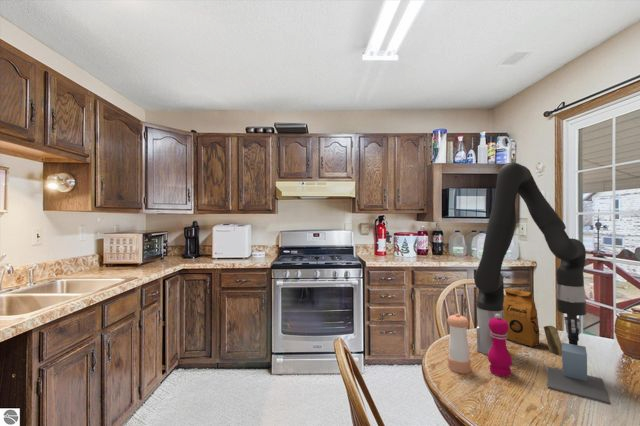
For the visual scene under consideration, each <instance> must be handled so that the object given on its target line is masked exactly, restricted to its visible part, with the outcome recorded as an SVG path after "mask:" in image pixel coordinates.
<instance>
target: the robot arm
mask: <svg viewBox="0 0 640 426" xmlns="http://www.w3.org/2000/svg"><path fill="white" fill-rule="evenodd" d="M518 195H519V196H520V198H521V199H522V200H523V202H524V203H525V205H526V207H527V209H528V212H529V215H530V217H531V219H532V221H533V222H534V223H535V225H536V226H537V227H538V229H539V230H540V232H541V233H542V234H543V236H544V237H543V238H544V240H545V242H546V244H547V247H548V249H549V250H550V252H551V253H552V255H554V256H555V257H556V258H557V259H559V260H560V265H559V266H558V268H557V269H556V291H555V292H556V309H557V312H559V313H561V314H566V316H564V317H563V318H564V319H563V320H564V325H565V333H567V339H568V344H573V345H579V343H578V342H579V340H580V338H579V335H581V333H580V328H581V320H580V317H581V316H582V317H583V316H586V315H587V299H586V298H587V294H586V290H585V282H584V281H585V280H584V271H585V269H584V268H585V266H586V265H585V264H586V258H587V257H586V256H587V253H586V247H585V244H584V243H583V242H582V241H580V240H579V239H576V238H571V237H569V235H568V234H567V232H566V228H567V227H566V224H565V222H564V221H563V220H562V219H561V217H560V216H559V214H558V213H557V212H556V211H555V209H554V208H553V207H552V206H551V204H550V203H549V202H548V200H547V199H546V198H545V196H544V194H543V193H542V192H541V190H540V189H539V186H538V184H537V183H536V181H535V179H534V177H533V174H532V172H531V170H530V169H529V168H528V167H526V166H524V165H522V164H519V163H517V162H506V164H504V165H502V167H501V168H500V169H499V171H498V173H497V178H496V186H495V195H494V200H493V203H492V207H491V212H490V216H489V219H488V222H487V223H488V224H487V227H486V231H485V237H484V242H483V247H482V255H481V258H480V261H479V264H478V266H477V269H476V272H475V274H474V278H473V279H474V280H473V281H474V284H475V287H476V288H477V290H478V292H477V293H478V294H477V299H476V315H477V316H476V317H477V326H476V348H477V349H476V350H477V352H480V353H482V354H484V355H487V356H488V353H489V351H490V349H491V346H492V342H493V339H492V336H491V333H490V332H491V329H490V328H489V321H490V320H491V319H492V318H496V317H495V315H496V314H500V315H501V319H504V312H503V306H504V299H505V294H504V293H505V289H504V288H505V287H504V285H505V284H504V277H503V274H502V273H501V272H502V268H503V267H502V266H503V261H504V259H505V256H506V255H507V253H508V251H509V249H510V247H511V244H512V241H513V239H514V235H515V230H516V227H517V211H516V198H517V196H518ZM578 316H580V317H579V318H578Z"/></svg>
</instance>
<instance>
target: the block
mask: <svg viewBox="0 0 640 426" xmlns="http://www.w3.org/2000/svg"><path fill="white" fill-rule="evenodd" d="M561 344H562V356H561V363H562V364H561V365H562V366H561V367H562V370H563V376H566V377H571V378H575V379H579V380H584V381H587V375H588V353H587V349H586V347H587V346H583V345H579V344H578V345H573V344H569V342H566V343H565V342H561Z"/></svg>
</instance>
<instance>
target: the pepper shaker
mask: <svg viewBox="0 0 640 426" xmlns="http://www.w3.org/2000/svg"><path fill="white" fill-rule="evenodd" d="M446 321H447V322H446V323H447V324H448V326H449V341H448V357H447V365H448V368H449V370H451V371H453V372H455V373H460V374H469V373H470V372H471V370H472V368H471V359H470V348H469V342H468V337H467V336H468V335H467V334H468V332H467V331H468V329H467V327H468V326H469V324H470V323H469V322H470V321H469V320H468V319H467V317H465V316H463V315H460V313H455V314H451V315H449V316H448V318H447V320H446Z"/></svg>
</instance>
